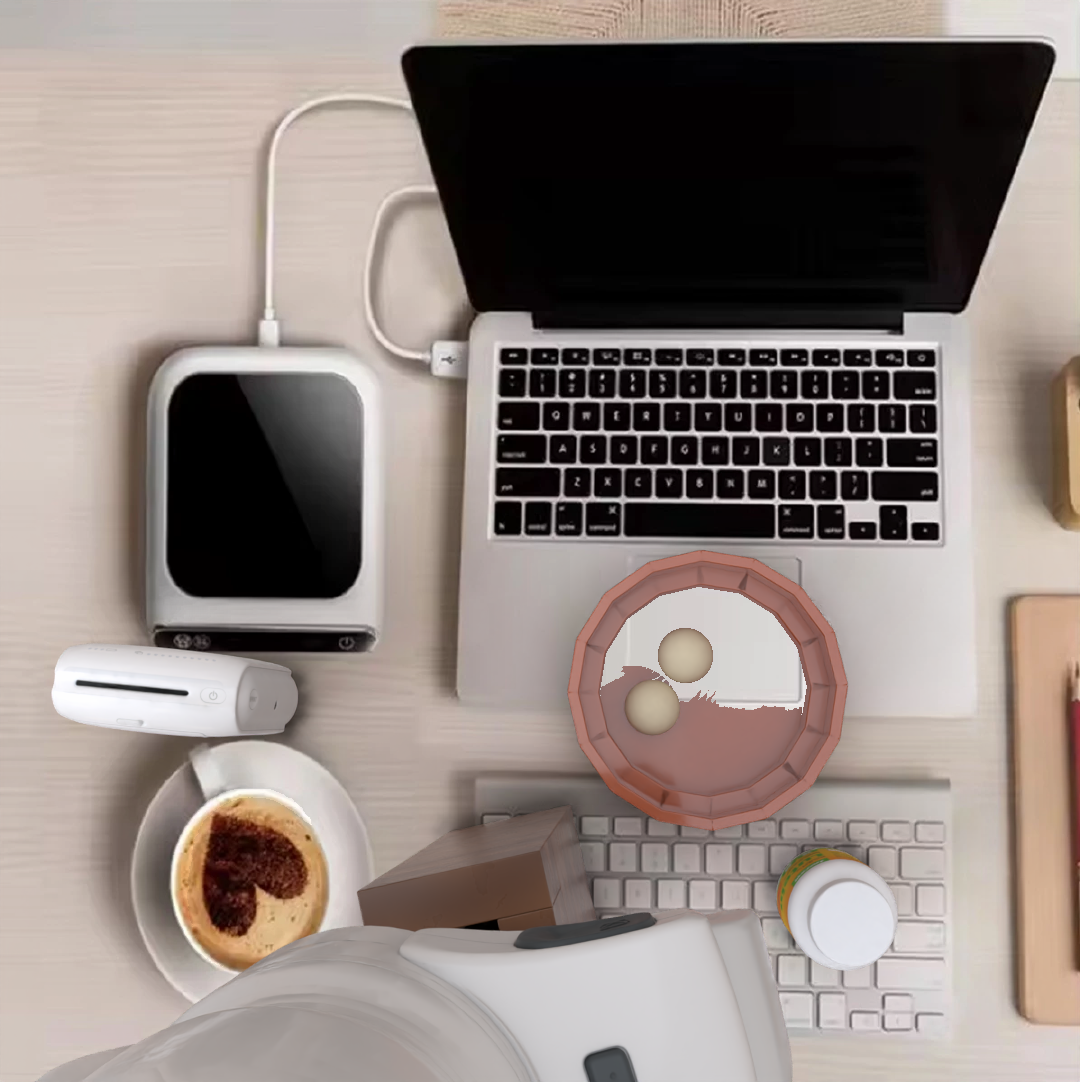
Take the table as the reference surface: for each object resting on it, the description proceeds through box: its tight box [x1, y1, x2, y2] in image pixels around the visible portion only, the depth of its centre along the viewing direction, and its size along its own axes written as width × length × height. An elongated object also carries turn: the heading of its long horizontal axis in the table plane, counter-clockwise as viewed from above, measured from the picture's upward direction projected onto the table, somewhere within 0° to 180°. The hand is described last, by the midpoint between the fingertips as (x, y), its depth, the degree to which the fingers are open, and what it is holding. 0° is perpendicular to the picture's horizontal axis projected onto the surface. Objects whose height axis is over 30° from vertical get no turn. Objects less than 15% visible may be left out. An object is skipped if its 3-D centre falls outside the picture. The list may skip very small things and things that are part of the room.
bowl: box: [566, 549, 849, 832], centre depth 75 cm, size 14×14×6 cm
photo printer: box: [50, 642, 299, 738], centre depth 73 cm, size 10×4×12 cm, turn 84°
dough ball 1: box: [625, 680, 680, 735], centre depth 76 cm, size 3×3×3 cm
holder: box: [356, 804, 598, 932], centre depth 64 cm, size 7×7×26 cm
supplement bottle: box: [775, 847, 899, 972], centre depth 71 cm, size 5×5×10 cm
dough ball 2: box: [658, 628, 713, 683], centre depth 76 cm, size 3×3×3 cm
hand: (441, 1009), depth 44 cm, fingers closed
